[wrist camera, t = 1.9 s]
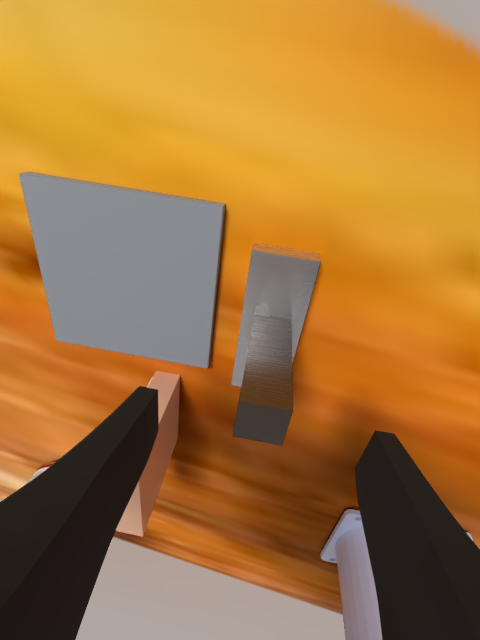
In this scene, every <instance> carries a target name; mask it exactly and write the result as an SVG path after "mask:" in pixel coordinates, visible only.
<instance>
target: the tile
mask: <svg viewBox="0 0 480 640" xmlns="http://www.w3.org/2000/svg"><path fill="white" fill-rule="evenodd" d="M147 388H152V389H157V390H158V419H159V431H158V434H157V437H156V440H155V443H154V446H153V448H152V451H151V454H150V457H149V460H148V462H147V464H146V466H145V469H144V471H143V473H142V475H141V477H140V479H139V481H138V484H137V486H136V488H135V490H134V492H133V494H132V496H131V499H130V501H129V503H128V505H127V507H126V509H125V511H124V513H123V516H122V518H121V520H120V522H119V524H118V526H117V528H116V531H118V532H123V533H128V534H133V535H137V536H142V537H143V535H144V532H145V530H146V527H147V524H148V521H149V518H150V515H151V513H152V510H153V507H154V504H155V501H156V498H157V496H158V493H159V490H160V487H161V484H162V481H163V479H164V476H165V473H166V470H167V467H168V464H169V462H170V459H171V456H172V453H173V450H174V447H175V445H176V442H177V439H178V422H179V394H180V375H177V374H172V373H166V372H161V371H156V372H155V374H154V376H153V377H152V379H151V380H150V382H149V384H148V386H147Z"/></svg>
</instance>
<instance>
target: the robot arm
mask: <svg viewBox="0 0 480 640" xmlns="http://www.w3.org/2000/svg"><path fill="white" fill-rule="evenodd" d="M158 431H159V419H158V390H157V389H152V388H147V387H141V386H140V387H138V388H137V389H136V390H135V391H134V392H133V393H132V394H131V395H130V396H129V397H128V398H127V399H126V400H125V401H124V402H123V403H122V404H121V405H120V406H119V407H118V408H117V409H116V410H115V411H114V412H113V413H112V414H111V415H110V416H108V417H107V418H106V419H105V420H104V421H103V422H102V423H101V424H100V425H99V426H98V427H96V428H95V429H94V430H93V431H92V432H91V433H90V434H89V435H88V436H86V437H85V438H84V439H83V440H82V441H81V442H79V443H78V444H77V445H76V446H75V447H73V448H72V449H71V450H70V451H69V452H67V453H66V454H65V455H64V456H63V457H61V458H60V459H59V460H58V461H56V462H55V463H54V464H53V465H51V466H50V467H49V468H47V469H46V470H45V471H43V472H42V473H41V474H40V475H38V476H37V477H35V478H34V479H33V480H31V481H30V482H29V483H27V484H26V485H24V486H23V487H22V488H20V489H19V490H17V491H16V492H14V493H13V494H12V495H10V496H9V497H7V498H6V499H4V500H3V501H1V502H0V640H75V639H76V636H77V633H78V630H79V627H80V624H81V621H82V619H83V616H84V613H85V610H86V607H87V605H88V602H89V599H90V596H91V593H92V590H93V588H94V585H95V582H96V580H97V577H98V574H99V571H100V569H101V566H102V563H103V560H104V558H105V555H106V553H107V550H108V547H109V545H110V542H111V540H112V538H113V535H114V533H115V531H116V528H117V526H118V524H119V522H120V520H121V518H122V516H123V513H124V511H125V509H126V507H127V505H128V503H129V501H130V499H131V496H132V494H133V492H134V490H135V488H136V486H137V484H138V481H139V479H140V477H141V475H142V473H143V471H144V469H145V466H146V464H147V462H148V460H149V457H150V454H151V451H152V448H153V446H154V443H155V440H156V437H157V434H158ZM355 474H356V487H357V497H358V504H359V509H360V511H359V510H354V509H348V510H346V511H345V512H344V513H343V515H342V517H341V518H340V520H339V522H338V524H337V525H336V527H335V529H334V531H333V532H332V534H331V536H330V537H329V539H328V541H327V543H326V544H325V546H324V548H323V550H322V551H321V553H320V555H321V559H322V560H324V561H328V562H333V563H337V566H338V575H339V584H340V592H341V601H342V610H343V619H344V628H345V636H346V640H480V549H479V548H478V547H477V546H476V545H475V543H474V542H473V538H472V536H471V534H470V533H468V532H465V531H464V529H463V528H462V527H461V526H460V524H459V523H458V522H457V521H456V519H455V518H454V517H453V515H452V514H451V513H450V511H449V510H448V509H447V507H446V506H445V505H444V503H443V502H442V501H441V499H440V498H439V497H438V495H437V494H436V492H435V491H434V490H433V488H432V487H431V486H430V484H429V483H428V481H427V480H426V479H425V477H424V476H423V474H422V473H421V471H420V470H419V469H418V467H417V466H416V464H415V463H414V461H413V460H412V458H411V457H410V456H409V454H408V453H407V451H406V450H405V448H404V447H403V445H402V444H401V443H400V441H399V440H398V438H397V437H396V436H395V434H392V433H387V432H381V431H376V430H375V432H374V434H373V436H372V437H371V439H370V441H369V443H368V445H367V447H366V449H365V450H364V452H363V454H362V456H361V458H360V460H359V461H358V463H357V465H356V467H355Z"/></svg>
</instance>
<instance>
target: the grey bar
mask: <svg viewBox="0 0 480 640" xmlns="http://www.w3.org/2000/svg"><path fill="white" fill-rule="evenodd" d="M320 263H321V261H320V256H319V253H314V252H308V251H302V250H296V249H290V248H284V247H278V246H272V245H266V244H260V243H254V245H253V248H252V253H251V259H250V266H249V272H248V279H247V285H246V292H245V298H244V305H243V311H242V318H241V324H240V331H239V337H238V344H237V350H236V357H235V363H234V370H233V376H232V383H231V385H234V386H239V387H241V392H240V397H239V403H238V408H237V414H236V420H235V425H234V431H233V436H235V437H240V438H245V439H250V440H255V441H260V442H266V443H271V444H276V445H281V446H282V444H283V441H284V438H285V435H286V432H287V428H288V425H289V422H290V419H291V416H292V412H293V384H292V363H293V359H294V356H295V352H296V349H297V345H298V341H299V338H300V334H301V331H302V327H303V324H304V320H305V316H306V313H307V309H308V306H309V302H310V298H311V295H312V291H313V288H314V284H315V280H316V277H317V273H318V270H319V266H320Z"/></svg>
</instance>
